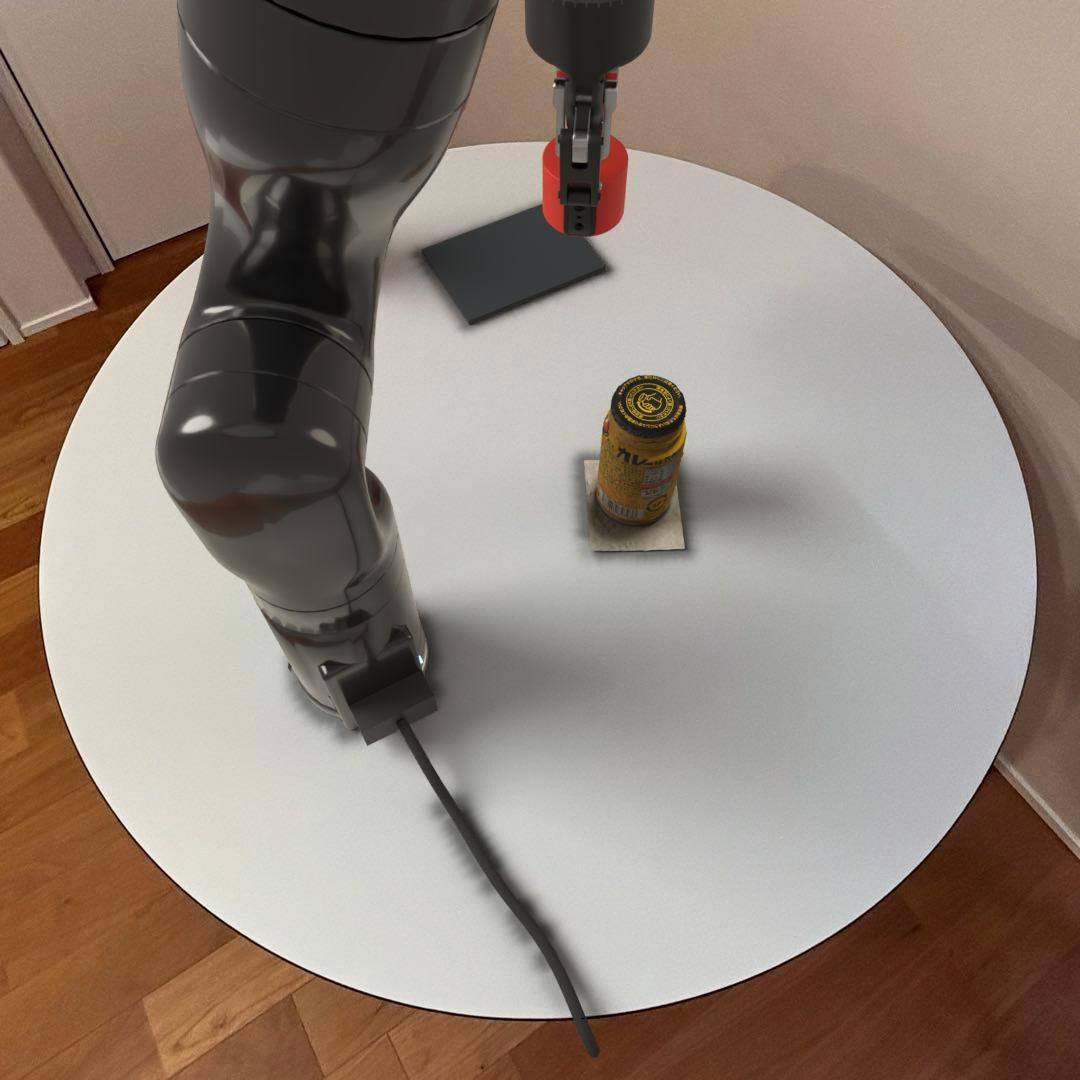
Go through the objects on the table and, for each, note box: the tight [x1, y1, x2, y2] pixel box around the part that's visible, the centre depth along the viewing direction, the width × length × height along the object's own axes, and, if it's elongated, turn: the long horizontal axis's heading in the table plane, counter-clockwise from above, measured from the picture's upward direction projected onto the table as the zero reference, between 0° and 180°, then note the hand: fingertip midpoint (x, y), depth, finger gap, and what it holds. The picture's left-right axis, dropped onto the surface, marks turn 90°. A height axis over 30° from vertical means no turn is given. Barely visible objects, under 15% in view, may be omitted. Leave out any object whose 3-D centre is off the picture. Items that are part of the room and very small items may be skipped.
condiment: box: [583, 374, 688, 552], centre depth 72 cm, size 7×8×12 cm
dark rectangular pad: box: [420, 203, 606, 326], centre depth 90 cm, size 10×14×1 cm
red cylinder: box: [541, 134, 629, 238], centre depth 67 cm, size 6×6×5 cm
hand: (582, 199), depth 69 cm, fingers closed on red cylinder, 6 cm apart
